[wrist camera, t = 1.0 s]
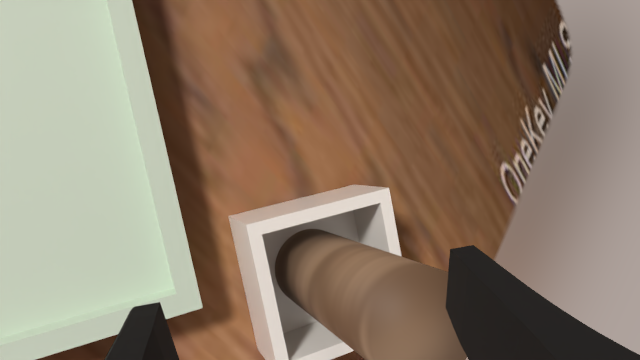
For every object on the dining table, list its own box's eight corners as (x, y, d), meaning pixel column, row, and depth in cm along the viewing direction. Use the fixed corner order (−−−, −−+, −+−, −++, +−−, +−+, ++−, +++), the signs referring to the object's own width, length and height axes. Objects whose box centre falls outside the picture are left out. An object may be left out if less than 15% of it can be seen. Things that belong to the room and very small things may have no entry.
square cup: (377, 307, 29) (414, 327, 26) (257, 348, 27) (279, 378, 23) (354, 184, 28) (388, 187, 25) (228, 216, 26) (245, 224, 22)
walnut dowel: (351, 291, 28) (484, 365, 18) (283, 313, 27) (384, 408, 16) (337, 220, 28) (465, 254, 17) (267, 239, 26) (361, 289, 16)
